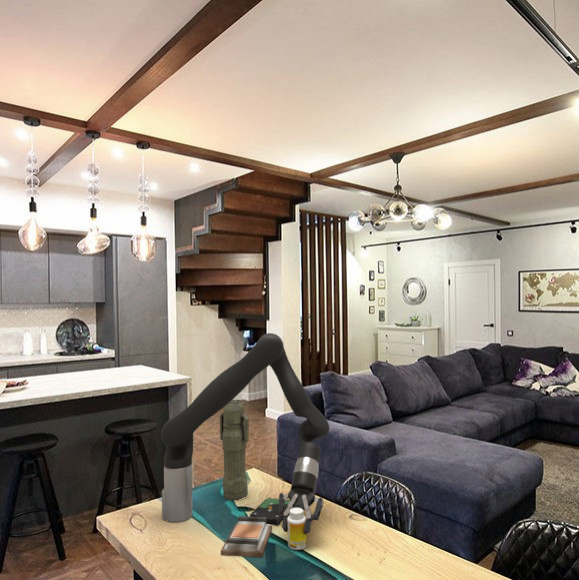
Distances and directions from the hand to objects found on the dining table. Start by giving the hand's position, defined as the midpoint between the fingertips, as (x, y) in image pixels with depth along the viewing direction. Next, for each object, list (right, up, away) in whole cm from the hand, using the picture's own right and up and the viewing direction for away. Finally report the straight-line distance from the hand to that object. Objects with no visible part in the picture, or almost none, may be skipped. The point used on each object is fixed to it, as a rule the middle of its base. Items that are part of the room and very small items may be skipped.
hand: (295, 532), depth 134 cm
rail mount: (-14, -5, +5) cm, 16 cm away
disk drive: (-7, -6, +23) cm, 25 cm away
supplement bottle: (+1, -5, +2) cm, 5 cm away
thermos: (-22, -7, +38) cm, 44 cm away
